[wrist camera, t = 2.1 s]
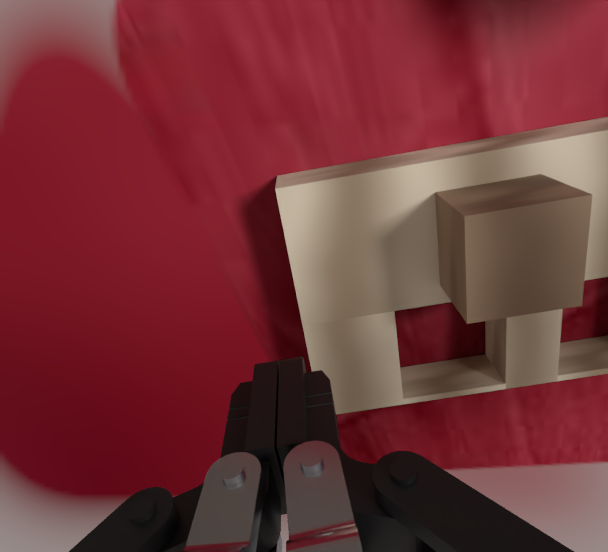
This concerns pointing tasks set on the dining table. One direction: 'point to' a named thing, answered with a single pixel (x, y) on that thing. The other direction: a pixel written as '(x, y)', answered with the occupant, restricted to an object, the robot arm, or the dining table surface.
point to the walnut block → (513, 247)
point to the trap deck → (428, 265)
